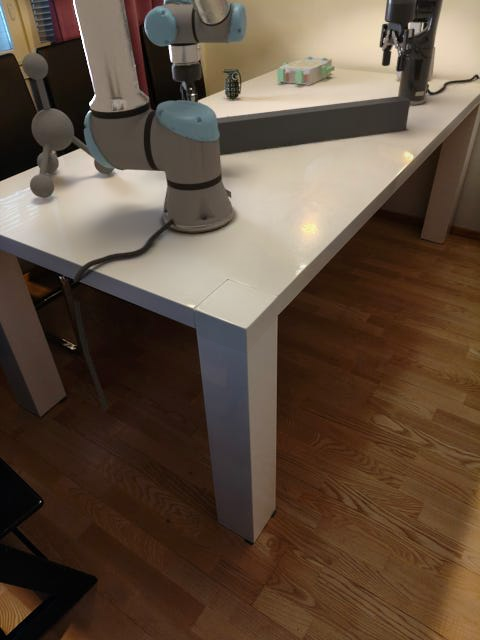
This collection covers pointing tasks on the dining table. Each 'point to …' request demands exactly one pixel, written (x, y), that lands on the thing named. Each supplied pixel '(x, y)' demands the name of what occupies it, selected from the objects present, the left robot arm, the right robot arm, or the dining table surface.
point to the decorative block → (305, 71)
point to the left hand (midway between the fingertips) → (195, 152)
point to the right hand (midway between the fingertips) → (392, 68)
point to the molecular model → (50, 131)
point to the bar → (312, 124)
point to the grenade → (232, 83)
